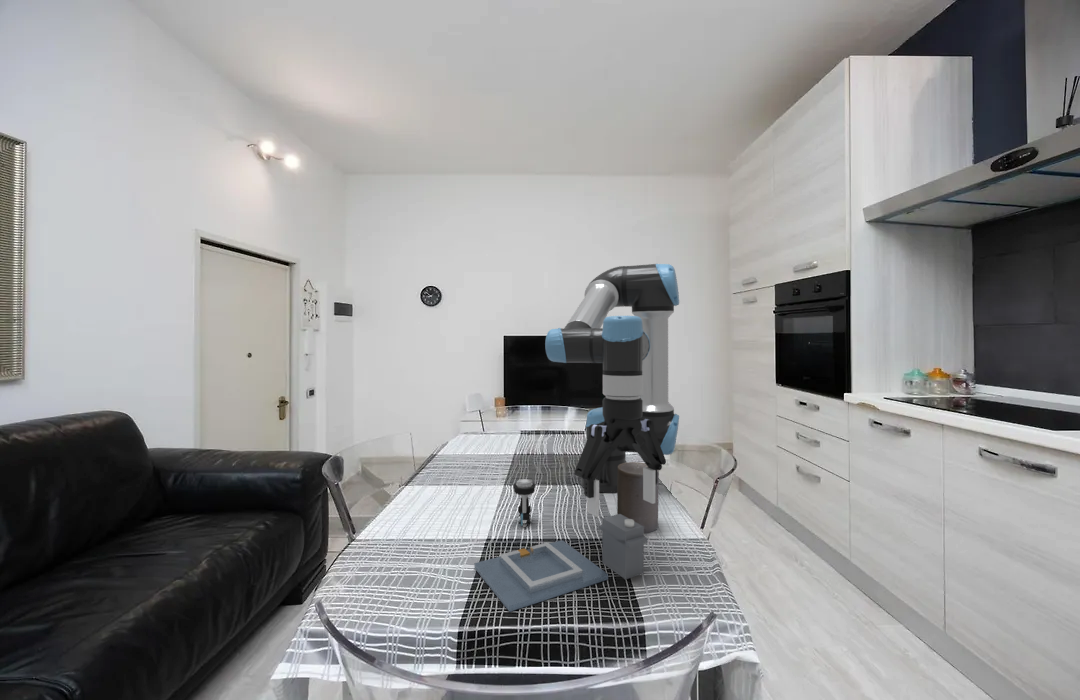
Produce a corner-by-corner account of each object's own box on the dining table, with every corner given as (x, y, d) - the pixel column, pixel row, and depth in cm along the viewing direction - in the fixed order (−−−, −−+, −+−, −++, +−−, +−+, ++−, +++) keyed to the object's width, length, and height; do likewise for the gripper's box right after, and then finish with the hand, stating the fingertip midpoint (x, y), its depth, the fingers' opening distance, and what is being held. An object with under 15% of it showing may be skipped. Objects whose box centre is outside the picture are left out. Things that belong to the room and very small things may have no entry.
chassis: (561, 544, 98) (561, 534, 98) (608, 579, 84) (608, 567, 84) (474, 567, 88) (473, 556, 88) (509, 612, 74) (509, 598, 74)
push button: (535, 529, 106) (535, 486, 106) (512, 529, 106) (512, 486, 106) (535, 517, 113) (535, 477, 112) (514, 518, 113) (513, 477, 112)
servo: (616, 555, 93) (616, 507, 93) (647, 576, 85) (647, 523, 85) (599, 560, 91) (599, 511, 91) (629, 582, 83) (629, 528, 83)
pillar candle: (608, 525, 108) (609, 462, 107) (630, 512, 115) (631, 454, 114) (645, 537, 101) (646, 471, 101) (666, 524, 108) (667, 461, 108)
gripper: (657, 391, 96) (657, 491, 97) (556, 398, 84) (556, 512, 85) (684, 395, 90) (684, 502, 90) (578, 403, 78) (578, 527, 78)
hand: (622, 507), depth 87 cm, fingers open, 13 cm apart
